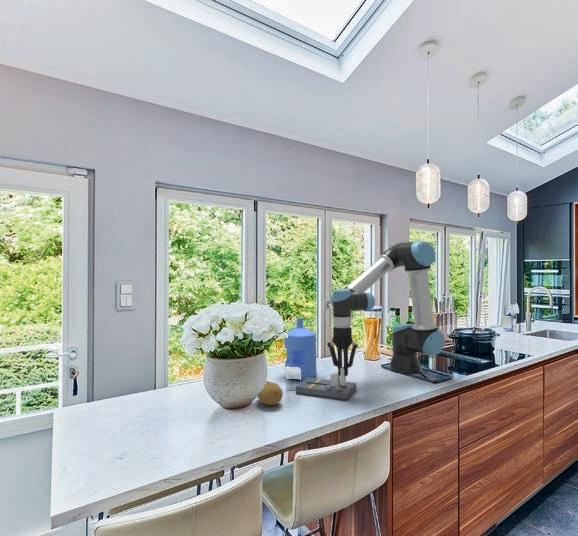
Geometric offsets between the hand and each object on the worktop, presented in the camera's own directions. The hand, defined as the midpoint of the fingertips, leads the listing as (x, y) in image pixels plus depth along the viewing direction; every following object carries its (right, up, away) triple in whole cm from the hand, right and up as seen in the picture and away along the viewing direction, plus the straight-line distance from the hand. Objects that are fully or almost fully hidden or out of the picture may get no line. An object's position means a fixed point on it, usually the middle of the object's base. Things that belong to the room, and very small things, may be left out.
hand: (343, 383), depth 149 cm
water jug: (-17, -5, +27) cm, 32 cm away
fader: (-3, -3, +1) cm, 5 cm away
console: (-7, -5, +3) cm, 9 cm away
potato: (-30, -5, -9) cm, 32 cm away
